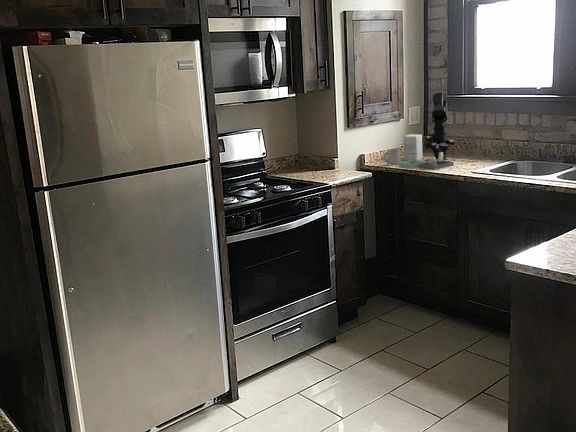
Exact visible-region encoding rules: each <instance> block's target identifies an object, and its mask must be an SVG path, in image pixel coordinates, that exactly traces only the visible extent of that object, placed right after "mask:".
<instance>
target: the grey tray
mask: <svg viewBox="0 0 576 432" xmlns="http://www.w3.org/2000/svg"><path fill="white" fill-rule="evenodd" d="M453 166H454V161H448V160H443V161H436V166H431V165H429V161H426V163H422V164H419V167H418V168H420V169H426V170H433V171H436V170H439V169H444V168H448V167H453Z"/></svg>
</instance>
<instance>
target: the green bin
mask: <svg viewBox="0 0 576 432" xmlns="http://www.w3.org/2000/svg"><path fill="white" fill-rule="evenodd" d="M426 162H427V161H426V160H420V159H419V160H403V161H400V162H399V165H398V167H399V168H405V169H418V168H419V164H422V163H426Z"/></svg>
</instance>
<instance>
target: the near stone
mask: <svg viewBox="0 0 576 432" xmlns="http://www.w3.org/2000/svg"><path fill="white" fill-rule="evenodd" d="M436 161H444V160H443V152H439V157H438V159H436Z"/></svg>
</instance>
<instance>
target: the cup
mask: <svg viewBox="0 0 576 432" xmlns="http://www.w3.org/2000/svg"><path fill="white" fill-rule="evenodd" d="M383 162H385V164H388V165H389V164H390V165H395V166H399V165H398V164H399V162H401V150H400V149H398V148H393V149H392V148H391V149H388V150H387V151H386V152H385V153H384V154H383ZM390 165H389V166H390Z"/></svg>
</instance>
